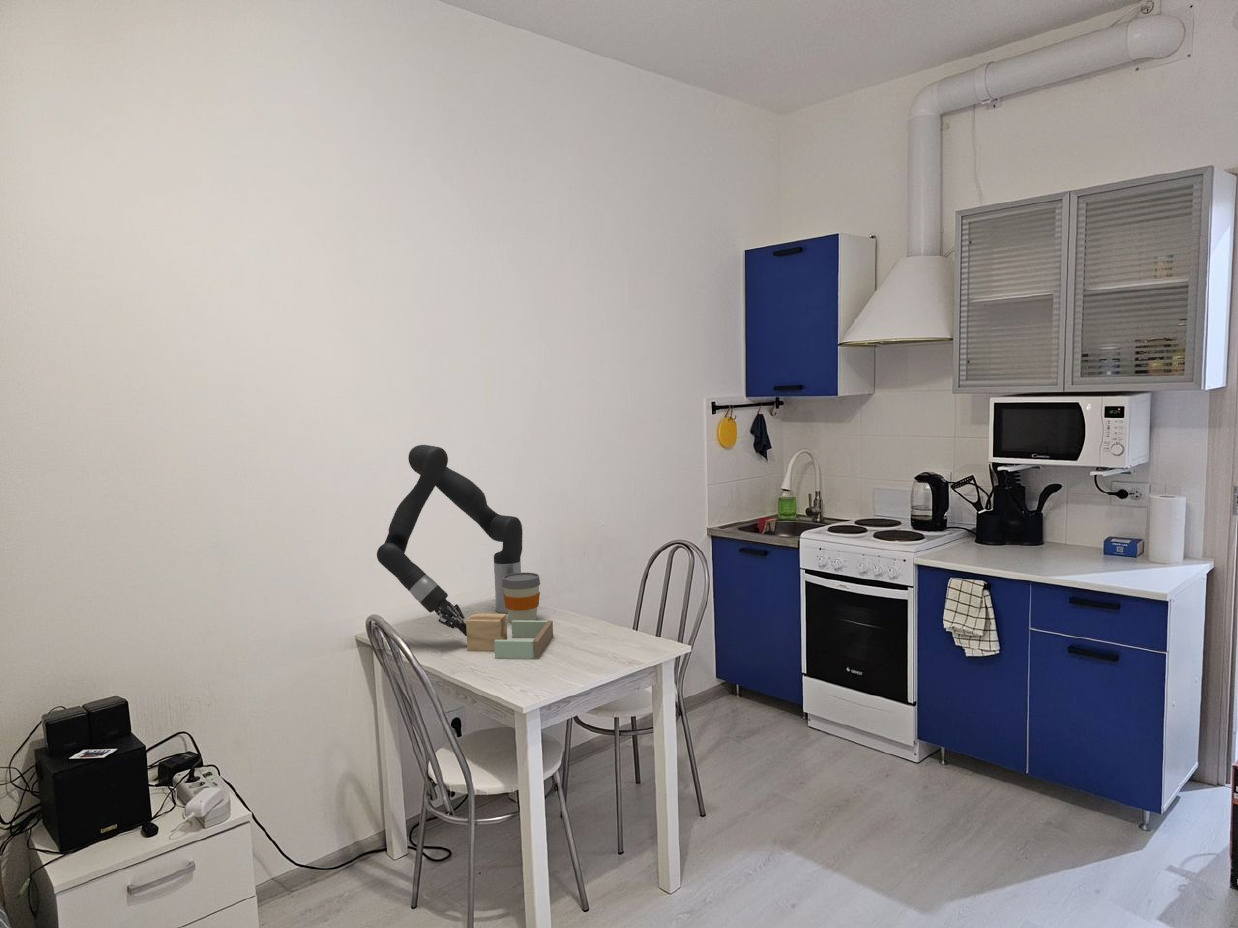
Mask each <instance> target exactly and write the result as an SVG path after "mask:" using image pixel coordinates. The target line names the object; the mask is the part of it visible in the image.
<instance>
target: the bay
mask: <svg viewBox="0 0 1238 928" xmlns="http://www.w3.org/2000/svg"><path fill="white" fill-rule="evenodd" d="M510 624H511V637H512V638H522V639H507V640H495V641H494V648H495V651H494V659H515V660H516V659H522V660H525V659H526V660H527V659H528V660H529V659H530V660H531V659H533V660H535V659H536V660H538V659H540V657H541V655H542V654H543V653H544V651H545V650H546V649H547V647H548V645H549V644H550V642H551V640H553V638H554V627H553V626H554V623H553V620H536V621H534V620H512V622H511V623H510ZM523 638H529V639H523ZM530 638H534V639H530Z"/></svg>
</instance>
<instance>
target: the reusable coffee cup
mask: <svg viewBox="0 0 1238 928" xmlns="http://www.w3.org/2000/svg"><path fill="white" fill-rule="evenodd" d="M540 585H541V579H540V575H539V574H538V573H535V572H521V573H513V574H508V575H505V576H504V577H503V581H502V587H503V588H504V594H503V595H504V601H505V607H506V608H507V611H508V613H507V615H508V622H509V623H510V624H511V622H512V620H534V621H537V615H538V613H537V612H538V607H539V605H540V596H541V595H540V593H541V592H540Z"/></svg>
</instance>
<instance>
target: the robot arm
mask: <svg viewBox="0 0 1238 928" xmlns="http://www.w3.org/2000/svg"><path fill="white" fill-rule="evenodd" d="M448 457H449V456H448V453H447V451H446V450H445V449H444V448H443V447H440V446H435V445H429V444H428V445H427V444H419V445H415V446H413V447H412V448H411V449H410V451H409V453H408V463H409V466H410V468H411V469H412V470H413V471H414V472H415V473H416V474H417V475H419V478H418V480H417V481H416V484H415V485H414V487H413V488H412V489H411V491H410V492H409V493H408V494H407V495H406V496H405V497H404V498H403V499H402V501H401V502H400V503H399V505H398V506H397V507H396V509H395V512H394V514H393V516H392V519H391V521H390V523H389V526H388V534H387V536H386V539H385V541H384V543H383V544H381V545H380V546H379V547H378V549H377V552H376V558H377V560H378V562H379V564H381V565H382V566H383V568H385V569H386V570H387V572H390V573H391V574H392V575H393V576H394V577H395V578H396V579H397V580H398V581H399V583H400V584H401V585H402V586H403V587H404V588H405V589H406V590H407V591H408V592H409V593H410V594H411V595H412V596H413V598H414V599H415V600H416V601H418V602H419V604H420V605H421V606H422V607H423V608H424V609H425V610H426V611H428V612H429V613H433V612H435V613H436V615H437V616H438V617H439V618H438V619H437V620H438V622H439V623H440V624H442V625H445V626H446V627H449V629H450V628H451V629H458V630H459V631H460V632H461V634H463V635H464V636H465V637H467V629H466V622H465V620H464V619H465V616H464V614H463V612H462V610H461V608H460V606H459V604H458V603H456V604H455V605H453V604H452V603H451V602H450V601H449V600H447V598H448V596H449V594H448V593H447V592H446V590H444V589H443V588H442V587H441V586H440V585H439V584H438V583H437V582H436V581H435V580H434V579H432V577H430V576H429V575H427V574H426V572H424V570H423V569H421V568H420V567H419V566H418V565H417V564H415V563H414V562H413V561H412V560H411V559H410V558H409V557H408V556H407V555H406V550H407V547H408V543H409V540H410V538H411V535H412V533H413V531H414V528H415V526H416V524H417V522H418V520H419V519H418V518H419V517H420V514H421V512H422V510H423V509H424V507H425V504H426V503H427V501H428V500H429V497H430V496H431V495H432V493H433V491H434V489H435V487H436V488H437V489H438V490H439V492H441V493H442V494H443V495H444V496H445V497H446V498H447V499H449V501H451V502H452V503H453V504H454V505H455V506H456V507H458V508H459V509H460V510H461V511H462V512H463V513H464V514H466V515H467V516H468V517H469V518H471V519H472V520H473V521H474V522H475V523H477V525H478V526H480V528H481V529H482V530H483V532H484V533H485V534H486V535H487V536H488V537H489V538H491V540H493V541H496V542H499V543H502V549H501V550H500V551H497V552H496V553H494V554H493V569H494V591H495V594H494V595H495V596H494V597H495V611H496V612H497V613H499V614H508V611H507V608H506V607H505V601H504V595H503V594H504V588H503V587H502V581H503V577H504V576H505V575H508V574H513V573H522V566H521V565H522V564H521V563H522V562H521V561H522V560H521V557H522V552H523V526H522V525H523V524H522V522H521V520H520V518H519V517H517V516H512V515H511V516H510V515H502V514H499V513H497V512H496V511H495V510H493V509H492V508H491V507H490V506H489V505H488V503H487V502H488V501H487V498H486V496H485V495H486V494H485V493H484V492H483V490H481V488H480V487H479V486H478V485H476V483H474V482H473V481H472V480H471V479H469V478H468V477H466V476H464V475H462V474H460V473H459V472H456V471H455V470H453V469H451V468H449V467H448V464H449V463H448V462H449V458H448Z"/></svg>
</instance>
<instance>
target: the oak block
mask: <svg viewBox="0 0 1238 928" xmlns="http://www.w3.org/2000/svg"><path fill="white" fill-rule="evenodd" d="M507 622H508V621H507V613H473V614H472V615H471V616H470V617H469V618H468V619H466V620H465V624H466V629H467V636H466V645H467V647H466V648H467V650H466V651H467V652H468V651H469V652H470V651H471V652H472V651H473V652H495V648H494V641H495V640H508V626H507V625H508V623H507Z"/></svg>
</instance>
